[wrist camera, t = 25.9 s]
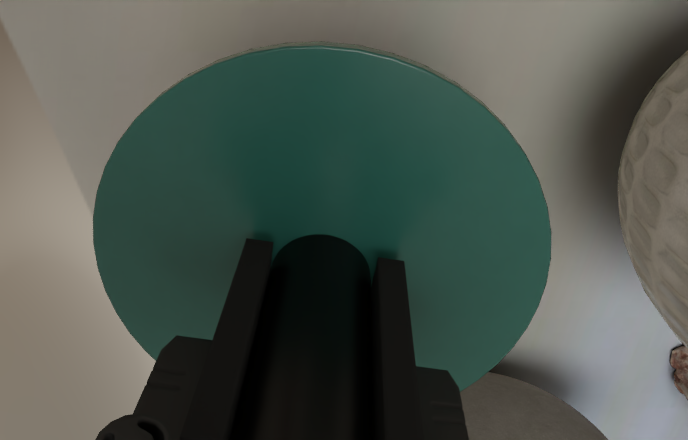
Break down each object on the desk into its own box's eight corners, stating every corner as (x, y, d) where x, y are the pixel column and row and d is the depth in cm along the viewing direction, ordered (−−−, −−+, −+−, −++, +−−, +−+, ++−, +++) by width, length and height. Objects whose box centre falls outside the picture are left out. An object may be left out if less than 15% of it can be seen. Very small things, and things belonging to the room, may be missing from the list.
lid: (119, 377, 21) (-16, 646, 13) (89, -6, 14) (-226, 112, 6) (473, 423, 21) (531, 702, 14) (613, 81, 15) (873, 277, 7)
